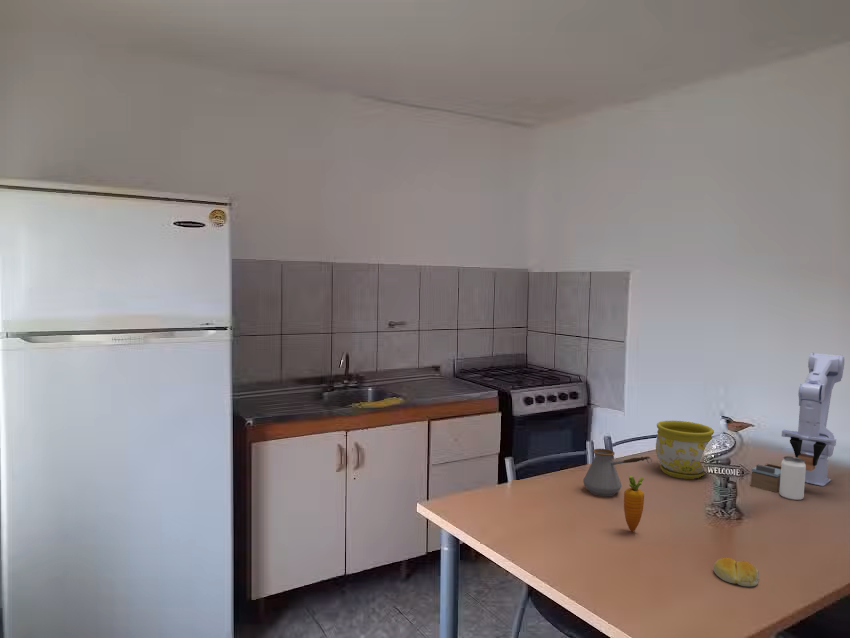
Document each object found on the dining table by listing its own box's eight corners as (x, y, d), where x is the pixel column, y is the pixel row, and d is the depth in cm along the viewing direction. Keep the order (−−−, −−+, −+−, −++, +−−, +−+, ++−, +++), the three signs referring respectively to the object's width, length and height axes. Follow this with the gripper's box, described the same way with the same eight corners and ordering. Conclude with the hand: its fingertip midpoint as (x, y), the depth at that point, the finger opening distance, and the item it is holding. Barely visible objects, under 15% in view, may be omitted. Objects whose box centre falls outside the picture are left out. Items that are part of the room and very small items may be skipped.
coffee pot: (575, 490, 186) (577, 443, 185) (596, 483, 193) (598, 437, 192) (637, 512, 169) (640, 460, 168) (658, 503, 177) (661, 453, 176)
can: (796, 493, 188) (799, 456, 188) (807, 501, 182) (810, 462, 181) (775, 492, 189) (777, 455, 188) (785, 499, 183) (788, 461, 182)
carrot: (641, 529, 157) (645, 474, 156) (642, 537, 153) (645, 480, 152) (622, 526, 159) (625, 471, 158) (621, 534, 154) (625, 477, 153)
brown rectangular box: (766, 476, 204) (767, 463, 204) (791, 482, 199) (792, 469, 199) (750, 485, 195) (751, 471, 194) (776, 492, 189) (777, 478, 189)
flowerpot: (650, 463, 216) (652, 418, 215) (703, 467, 212) (706, 422, 211) (659, 479, 198) (662, 431, 197) (717, 484, 195) (720, 435, 194)
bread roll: (715, 565, 139) (716, 548, 139) (759, 576, 134) (760, 559, 134) (710, 579, 132) (711, 562, 132) (756, 592, 127) (758, 574, 127)
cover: (759, 466, 199) (759, 460, 199) (784, 472, 194) (785, 465, 193) (751, 471, 194) (752, 464, 194) (777, 477, 189) (778, 470, 188)
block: (800, 465, 192) (801, 453, 192) (814, 468, 189) (815, 456, 189) (796, 467, 190) (797, 455, 189) (811, 471, 187) (812, 458, 186)
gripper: (779, 418, 191) (776, 460, 192) (833, 427, 180) (829, 471, 181) (786, 415, 196) (783, 455, 197) (839, 424, 185) (835, 466, 186)
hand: (806, 463), depth 189 cm, fingers closed on block, 4 cm apart
